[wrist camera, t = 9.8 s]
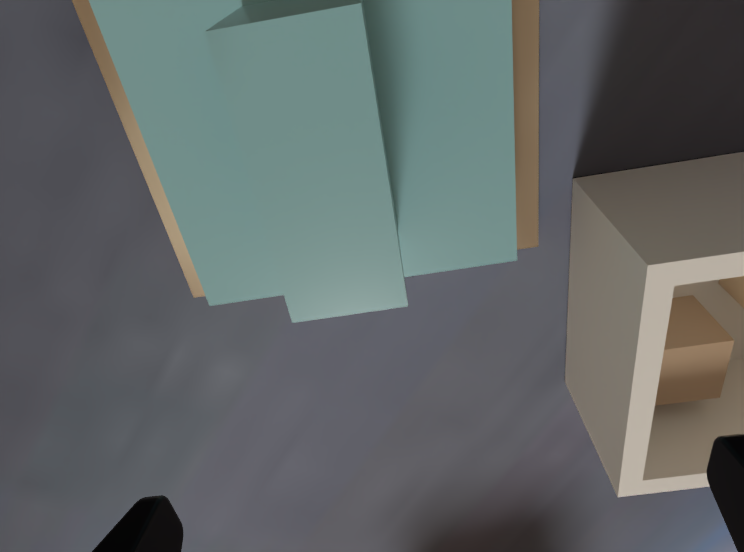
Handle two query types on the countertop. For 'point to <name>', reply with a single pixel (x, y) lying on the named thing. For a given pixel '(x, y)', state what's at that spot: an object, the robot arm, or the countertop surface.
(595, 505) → the countertop surface
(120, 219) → the countertop surface
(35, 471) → the countertop surface
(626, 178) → the storage box
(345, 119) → the lid
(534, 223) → the wooden board
